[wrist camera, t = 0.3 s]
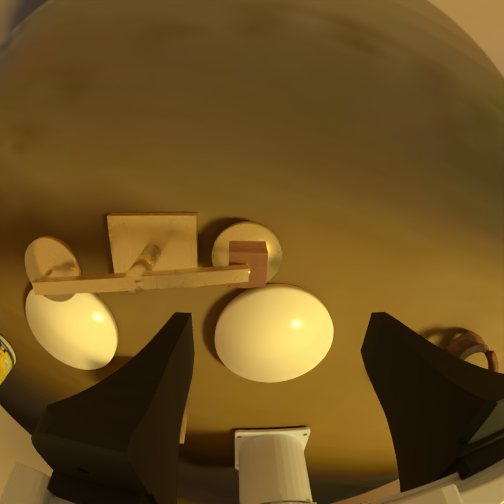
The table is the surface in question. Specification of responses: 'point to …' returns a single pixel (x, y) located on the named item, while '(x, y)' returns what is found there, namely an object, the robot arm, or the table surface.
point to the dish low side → (273, 333)
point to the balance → (156, 257)
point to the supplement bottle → (5, 358)
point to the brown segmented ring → (472, 348)
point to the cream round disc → (74, 329)
